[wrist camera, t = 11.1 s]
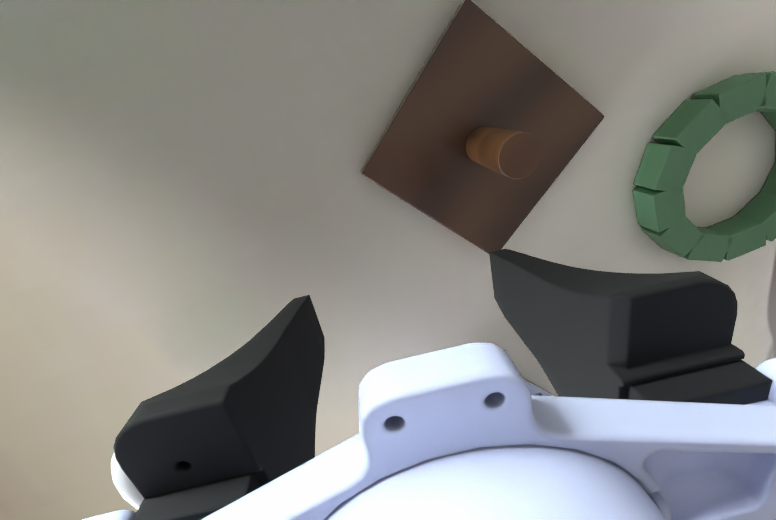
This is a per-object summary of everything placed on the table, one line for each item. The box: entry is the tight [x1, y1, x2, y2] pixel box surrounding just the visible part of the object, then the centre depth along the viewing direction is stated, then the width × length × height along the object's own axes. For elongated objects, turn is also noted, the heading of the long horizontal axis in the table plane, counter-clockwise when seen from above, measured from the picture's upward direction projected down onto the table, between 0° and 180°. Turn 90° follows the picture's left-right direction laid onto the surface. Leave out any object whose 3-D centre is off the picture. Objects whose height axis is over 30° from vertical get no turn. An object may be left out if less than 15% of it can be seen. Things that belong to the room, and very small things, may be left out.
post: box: [361, 0, 604, 254], centre depth 18 cm, size 10×10×6 cm
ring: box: [633, 72, 776, 262], centre depth 22 cm, size 11×11×2 cm
